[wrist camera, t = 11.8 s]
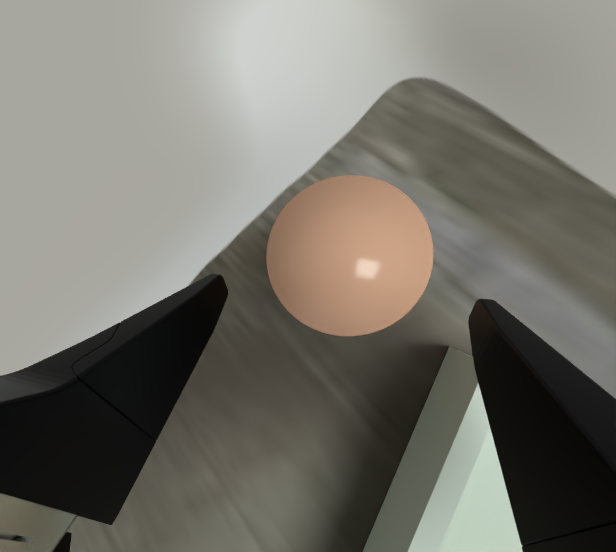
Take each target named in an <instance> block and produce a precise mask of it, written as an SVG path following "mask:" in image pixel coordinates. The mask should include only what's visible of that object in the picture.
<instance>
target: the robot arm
mask: <svg viewBox="0 0 616 552" xmlns="http://www.w3.org/2000/svg"><path fill="white" fill-rule="evenodd" d="M227 296H228V289H227V286H226V284H225V281H224V279H223V277H222V276H221V275H217V274H211V275H209V276H207V277H205V278H203V279H201V280H199V281H197V282H195V283H193V284H192V285H190V286H188V287H186V288H184V289H182V290H180V291H178V292H176V293H174V294H173V295H171V296H169V297H167V298H165V299H163V300H161V301H159V302H157V303H156V304H154V305H152V306H150V307H148V308H146V309H144V310H143V311H141V312H139V313H137V314H135V315H133V316H131V317H129V318H127V319H125V320H123V321H122V322H121V323H118V324H116V325H114V326H112V327H110V328H108V329H106V330H104V331H102V332H100V333H99V334H97V335H95V336H93V337H91V338H89V339H86V340H85V341H83V342H80V343H78V344H76V345H74V346H72V347H70V348H68V349H65V350H63V351H61V352H59V353H57V354H55V355H53V356H50V357H48V358H46V359H44V360H42V361H40V362H38V363H36V364H33V365H31V366H29V367H27V368H24V369H22V370H19V371H16V372H13V373H10V374H7V375H3V376H0V552H70V543H71V534H72V533H69V532H67V530H68V529H69V528H70V526H71V525H72V523H73V522H74V520H75V519H76V517H77V516H81V517H84V518H88V519H91V520H95V521H98V522H102V523H105V524H109V525H112V524H113V522H114V521H115V519H116V517H117V515H118V514H119V512H120V510H121V508H122V506H123V504H124V502H125V500H126V498H127V496H128V494H129V492H130V491H131V489H132V487H133V485H134V483H135V481H136V479H137V477H138V475H139V473H140V471H141V469H142V467H143V466H144V464H145V462H146V460H147V458H148V456H149V454H150V452H151V450H152V448H153V446H154V444H155V443H156V440H157V438H158V436H159V435H160V433H161V431H162V429H163V427H164V425H165V423H166V421H167V419H168V417H169V415H170V413H171V412H172V410H173V408H174V406H175V404H176V402H177V400H178V398H179V396H180V394H181V392H182V390H183V389H184V387H185V385H186V383H187V381H188V379H189V377H190V375H191V373H192V371H193V369H194V367H195V366H196V364H197V362H198V360H199V358H200V356H201V354H202V352H203V350H204V348H205V346H206V344H207V343H208V341H209V339H210V337H211V335H212V333H213V331H214V329H215V326H216V324H217V322H218V319H219V317H220V314H221V312H222V309H223V306H224V304H225V301H226V299H227ZM468 323H469V331H470V339H471V346H472V354H473V361H474V368H475V372H476V376H477V380H478V384H479V387H480V391H481V395H482V399H483V402H484V406H485V410H486V414H487V418H488V421H489V425H490V429H491V433H492V437H493V440H494V444H495V448H496V452H497V455H498V459H499V463H500V467H501V471H502V474H503V478H504V482H505V486H506V490H507V493H508V497H509V501H510V505H511V508H512V512H513V516H514V520H515V524H516V527H517V531H518V535H519V539H520V542H521V545H522V551H523V552H616V399H615V398H614V397H613V396H611V395H610V394H609V393H608V392H606V391H605V390H604V389H603V388H601V387H600V386H599V385H598V384H597V383H595V382H594V381H593V380H592V379H590V378H589V377H588V376H587V375H585V374H584V373H583V372H582V371H581V370H579V369H578V368H577V367H576V366H574V365H573V364H572V363H571V362H570V361H568V360H567V359H566V358H565V357H563V356H562V355H561V354H560V353H558V352H557V351H556V350H555V349H554V348H552V347H551V346H550V345H549V344H547V343H546V342H545V341H544V340H542V339H541V338H540V337H539V336H538V335H536V334H535V333H534V332H533V331H531V330H530V329H529V328H528V327H526V326H525V325H524V324H523V323H522V322H520V321H519V320H518V319H517V318H515V317H514V316H513V315H512V314H510V313H509V312H508V311H507V310H506V309H504V308H503V307H502V306H501V305H499V304H498V303H497V302H496V301H494V300H489V299H478V300H477V301H476V303H475V305H474V307H473V309H472V312H471V314H470V316H469V322H468Z"/></svg>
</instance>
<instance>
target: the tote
mask: <svg viewBox="0 0 616 552" xmlns="http://www.w3.org/2000/svg"><path fill="white" fill-rule="evenodd" d="M363 552H523V551H522V545H521V542H520V539H519V535H518V531H517V527H516V524H515V520H514V516H513V512H512V508H511V505H510V501H509V497H508V493H507V490H506V486H505V482H504V478H503V474H502V471H501V467H500V463H499V459H498V455H497V452H496V448H495V444H494V440H493V437H492V433H491V429H490V425H489V421H488V418H487V414H486V410H485V406H484V402H483V399H482V395H481V391H480V387H479V384H478V380H477V376H476V372H475V368H474V361H473V357H472V356H470V355H468V354H466V353H463V352H461V351H459V350H457V349H454V348H452V347H450V346H449V348H448V351H447V353H446V355H445V358H444V360H443V362H442V365H441V367H440V369H439V372H438V374H437V377H436V379H435V381H434V384H433V386H432V388H431V391H430V393H429V396H428V398H427V400H426V403H425V405H424V407H423V410H422V412H421V414H420V417H419V419H418V422H417V424H416V426H415V429H414V431H413V433H412V436H411V438H410V440H409V443H408V445H407V448H406V450H405V452H404V455H403V457H402V459H401V462H400V464H399V466H398V469H397V471H396V474H395V476H394V478H393V481H392V483H391V485H390V488H389V490H388V492H387V495H386V497H385V500H384V502H383V504H382V507H381V509H380V511H379V514H378V516H377V518H376V521H375V523H374V526H373V528H372V530H371V533H370V535H369V537H368V540H367V542H366V544H365V547H364V549H363Z"/></svg>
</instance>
